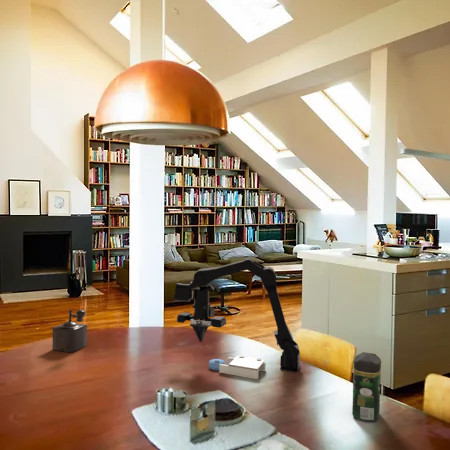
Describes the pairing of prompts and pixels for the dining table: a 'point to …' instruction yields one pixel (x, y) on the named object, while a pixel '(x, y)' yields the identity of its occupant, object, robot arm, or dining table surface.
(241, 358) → the cover
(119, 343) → the dining table surface
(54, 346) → the manual coffee grinder
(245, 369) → the white channel bracket
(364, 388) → the coffee jar
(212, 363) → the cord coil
